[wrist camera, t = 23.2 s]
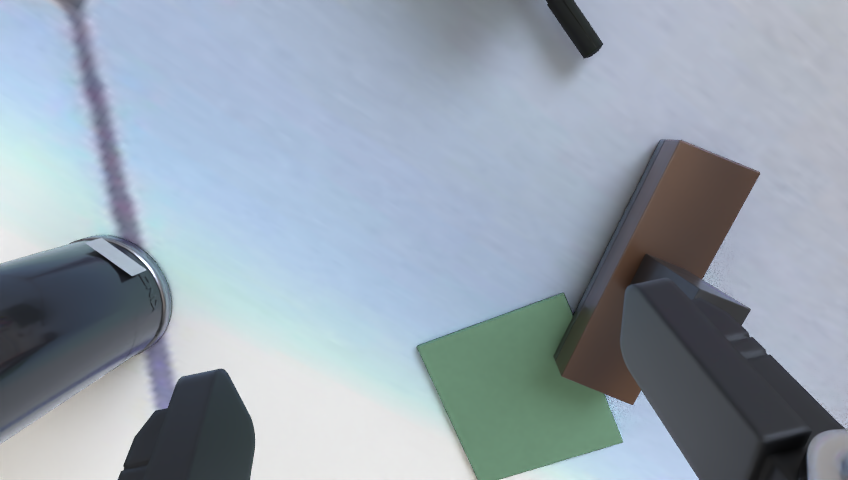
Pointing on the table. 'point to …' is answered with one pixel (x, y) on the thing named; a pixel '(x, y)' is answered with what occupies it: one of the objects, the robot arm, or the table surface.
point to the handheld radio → (576, 26)
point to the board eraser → (656, 257)
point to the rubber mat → (517, 392)
